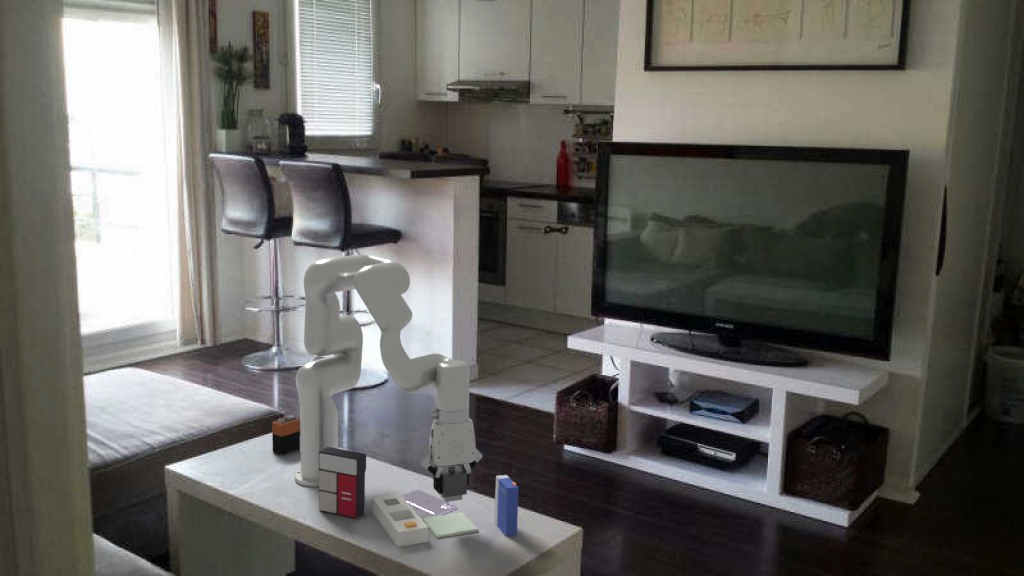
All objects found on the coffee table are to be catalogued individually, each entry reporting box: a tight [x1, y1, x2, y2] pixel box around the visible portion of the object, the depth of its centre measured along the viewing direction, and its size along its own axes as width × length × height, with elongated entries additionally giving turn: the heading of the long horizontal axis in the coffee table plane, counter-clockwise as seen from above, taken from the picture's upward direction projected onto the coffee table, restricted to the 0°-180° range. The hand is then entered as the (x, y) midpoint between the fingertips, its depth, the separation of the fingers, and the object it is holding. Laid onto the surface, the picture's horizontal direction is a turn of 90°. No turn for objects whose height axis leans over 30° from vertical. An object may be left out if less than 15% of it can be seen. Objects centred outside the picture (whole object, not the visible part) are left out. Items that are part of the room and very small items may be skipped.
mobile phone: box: [401, 489, 458, 517], centre depth 225 cm, size 8×1×15 cm
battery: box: [271, 414, 301, 456], centre depth 256 cm, size 4×7×10 cm, turn 145°
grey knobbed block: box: [439, 465, 468, 503], centre depth 210 cm, size 6×6×8 cm
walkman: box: [493, 474, 519, 537], centre depth 211 cm, size 8×3×12 cm, turn 21°
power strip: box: [371, 493, 429, 548], centre depth 211 cm, size 20×7×4 cm, turn 25°
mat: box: [421, 511, 479, 539], centre depth 212 cm, size 10×10×1 cm
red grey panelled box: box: [318, 447, 367, 519], centre depth 217 cm, size 11×4×15 cm, turn 68°
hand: (451, 489), depth 211 cm, fingers closed on grey knobbed block, 5 cm apart
